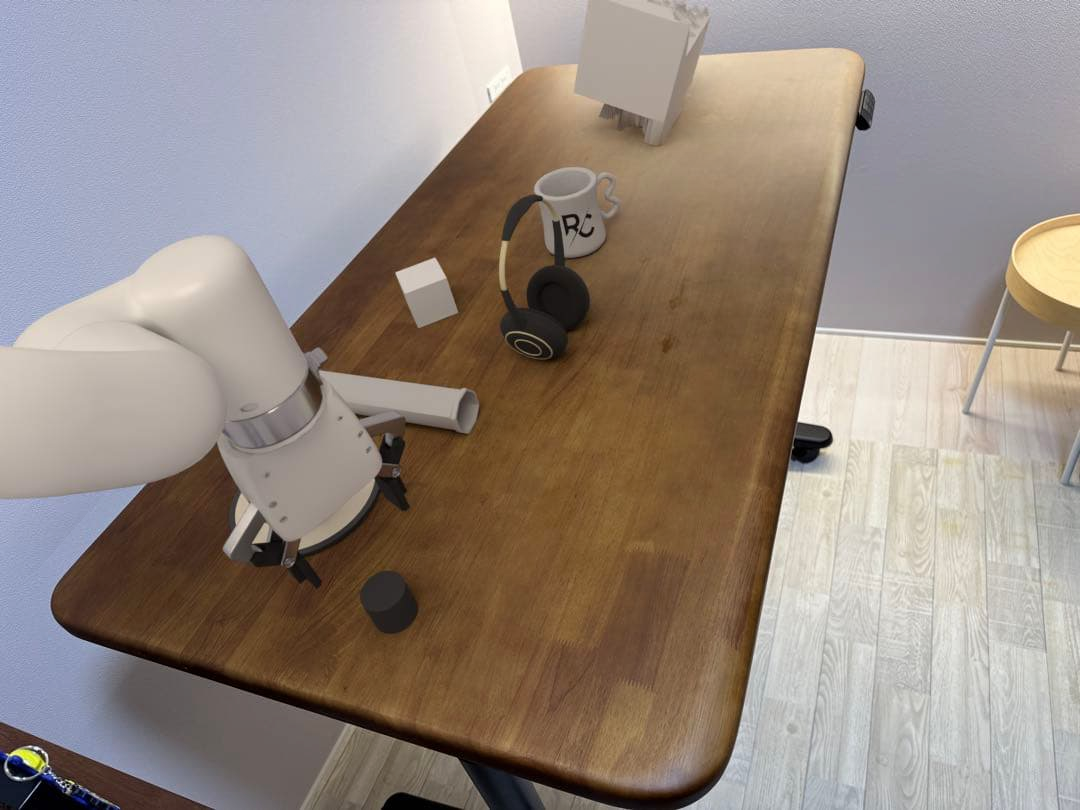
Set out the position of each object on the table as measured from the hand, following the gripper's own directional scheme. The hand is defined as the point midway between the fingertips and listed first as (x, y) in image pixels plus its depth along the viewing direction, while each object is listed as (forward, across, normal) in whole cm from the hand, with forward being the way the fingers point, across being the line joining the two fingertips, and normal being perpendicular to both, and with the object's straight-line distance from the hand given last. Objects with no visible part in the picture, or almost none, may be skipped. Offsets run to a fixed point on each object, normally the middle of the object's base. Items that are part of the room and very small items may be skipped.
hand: (355, 539), depth 68 cm
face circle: (+12, -2, -21) cm, 24 cm away
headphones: (+12, -38, -15) cm, 42 cm away
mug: (+13, -58, -27) cm, 65 cm away
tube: (+12, -16, -24) cm, 31 cm away
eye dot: (+12, 0, 0) cm, 12 cm away
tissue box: (+13, -90, -40) cm, 99 cm away
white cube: (+12, -34, -35) cm, 50 cm away
